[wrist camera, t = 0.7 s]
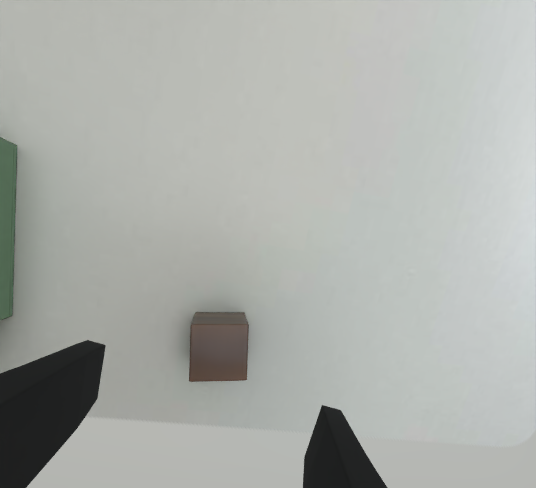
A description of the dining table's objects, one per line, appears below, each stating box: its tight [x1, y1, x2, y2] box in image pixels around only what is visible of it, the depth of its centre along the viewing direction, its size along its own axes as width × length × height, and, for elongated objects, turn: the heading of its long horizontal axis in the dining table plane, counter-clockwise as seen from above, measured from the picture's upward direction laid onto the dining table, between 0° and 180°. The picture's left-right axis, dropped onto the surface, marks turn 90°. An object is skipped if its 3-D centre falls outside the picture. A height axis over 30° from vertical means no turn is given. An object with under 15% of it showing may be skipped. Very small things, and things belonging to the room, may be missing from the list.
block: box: [189, 312, 249, 382], centre depth 26 cm, size 4×4×4 cm
